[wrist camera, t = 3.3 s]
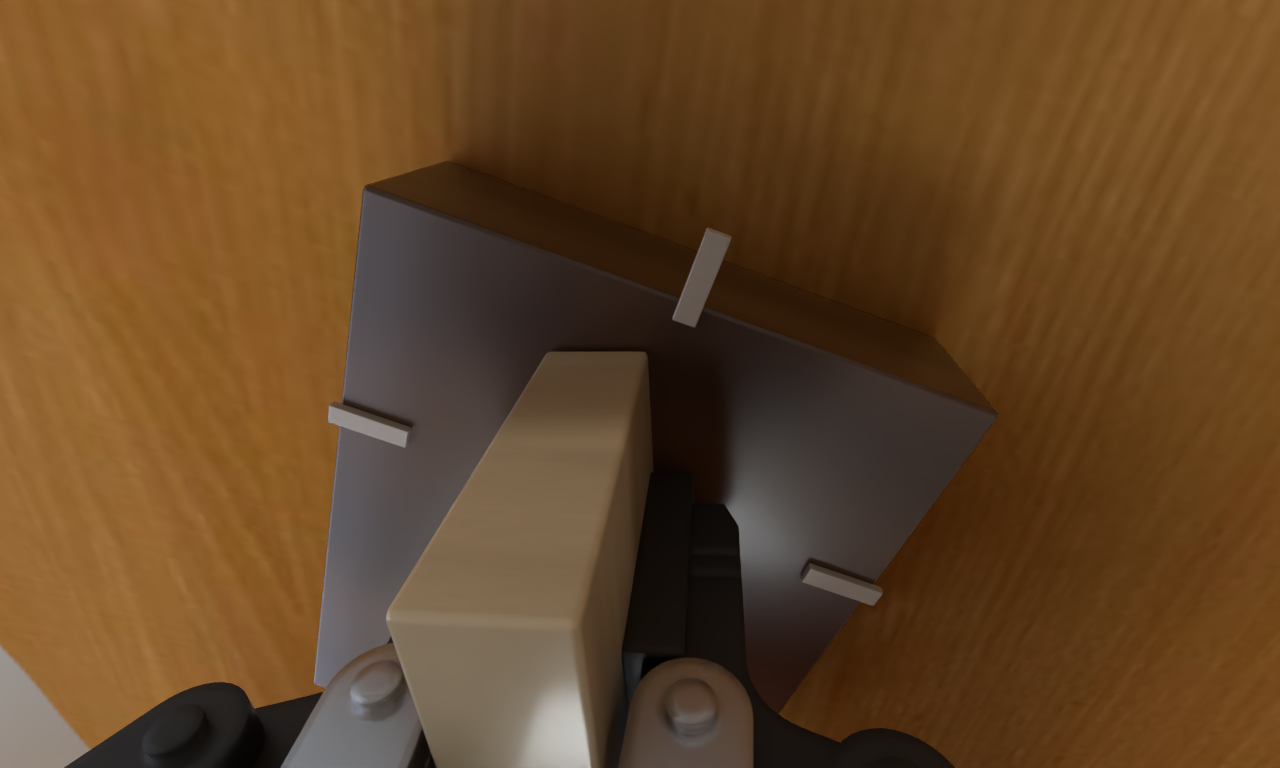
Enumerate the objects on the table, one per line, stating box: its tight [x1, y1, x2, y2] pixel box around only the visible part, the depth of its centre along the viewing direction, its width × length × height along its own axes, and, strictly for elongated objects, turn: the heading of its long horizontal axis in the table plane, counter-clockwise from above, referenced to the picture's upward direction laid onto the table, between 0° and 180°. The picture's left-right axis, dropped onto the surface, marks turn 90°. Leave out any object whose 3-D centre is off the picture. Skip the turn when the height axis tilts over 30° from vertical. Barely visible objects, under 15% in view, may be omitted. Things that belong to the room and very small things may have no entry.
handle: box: [386, 352, 654, 768], centre depth 8 cm, size 6×2×5 cm, turn 3°
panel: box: [314, 161, 998, 714], centre depth 12 cm, size 13×10×3 cm
